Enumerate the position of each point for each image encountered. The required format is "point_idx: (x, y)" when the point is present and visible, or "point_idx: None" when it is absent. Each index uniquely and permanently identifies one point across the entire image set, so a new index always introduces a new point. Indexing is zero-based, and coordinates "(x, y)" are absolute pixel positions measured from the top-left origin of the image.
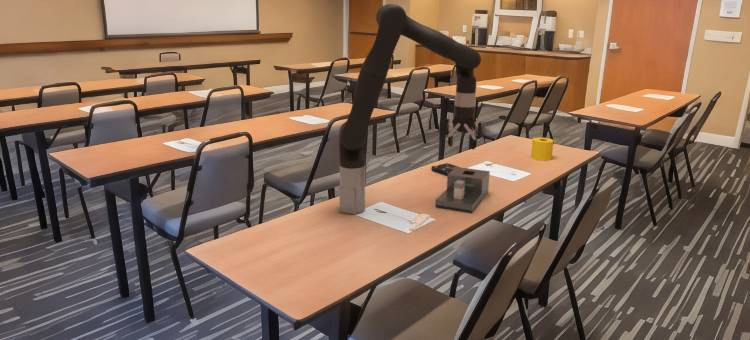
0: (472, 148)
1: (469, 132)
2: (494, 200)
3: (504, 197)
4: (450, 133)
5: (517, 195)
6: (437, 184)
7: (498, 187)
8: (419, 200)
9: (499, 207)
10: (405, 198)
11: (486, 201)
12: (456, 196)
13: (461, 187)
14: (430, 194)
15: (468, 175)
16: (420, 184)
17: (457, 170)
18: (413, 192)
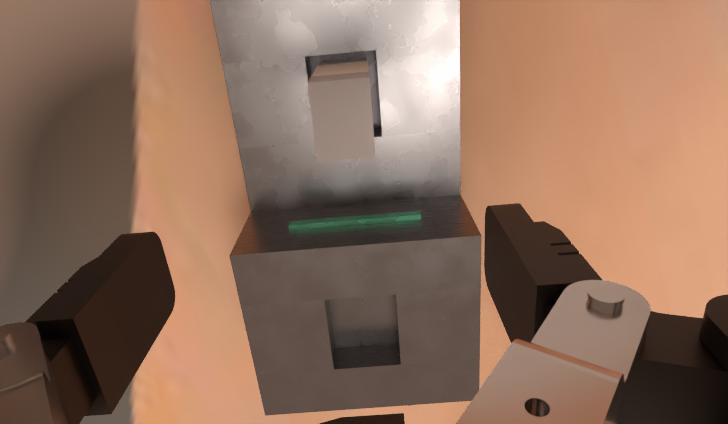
0: (134, 234)
1: (17, 418)
2: (208, 243)
3: (187, 303)
4: (605, 333)
5: (150, 354)
6: None
7: None
8: (576, 28)
9: (139, 160)
10: (668, 14)
11: (235, 209)
12: (348, 64)
13: (313, 78)
14: (542, 159)
15: (345, 286)
16: (635, 274)
17: (447, 343)
18: (644, 140)
